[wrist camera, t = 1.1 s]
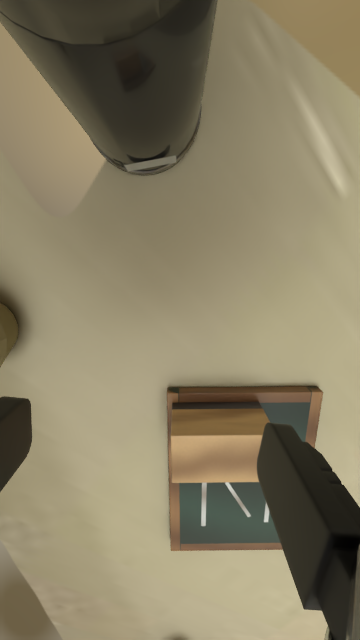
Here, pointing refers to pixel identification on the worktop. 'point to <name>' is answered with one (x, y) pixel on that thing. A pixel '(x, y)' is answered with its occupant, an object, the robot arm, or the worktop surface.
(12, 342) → the squeeze bottle
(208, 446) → the eraser
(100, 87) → the robot arm
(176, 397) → the chalkboard
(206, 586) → the worktop surface
